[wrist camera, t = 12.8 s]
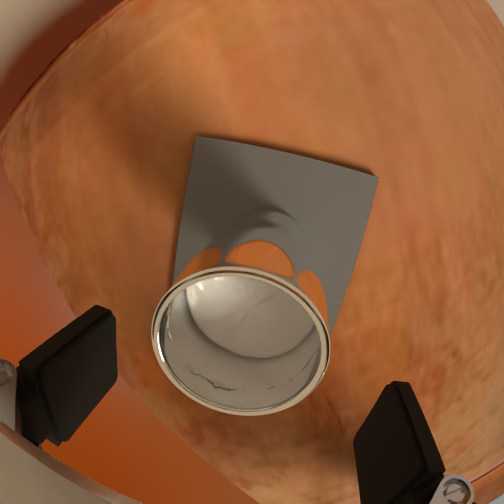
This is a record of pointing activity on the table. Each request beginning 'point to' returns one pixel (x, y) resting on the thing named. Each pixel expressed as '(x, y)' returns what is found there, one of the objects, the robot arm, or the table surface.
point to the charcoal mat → (277, 205)
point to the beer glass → (246, 320)
